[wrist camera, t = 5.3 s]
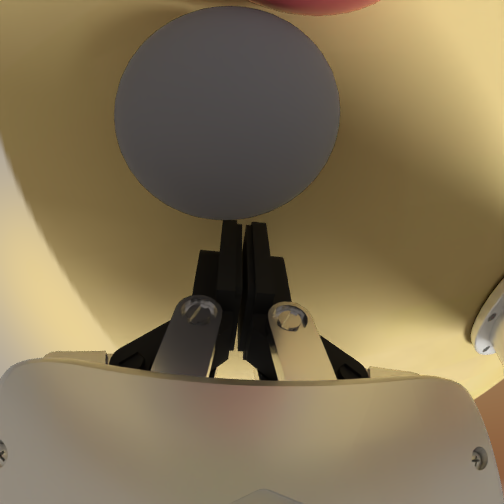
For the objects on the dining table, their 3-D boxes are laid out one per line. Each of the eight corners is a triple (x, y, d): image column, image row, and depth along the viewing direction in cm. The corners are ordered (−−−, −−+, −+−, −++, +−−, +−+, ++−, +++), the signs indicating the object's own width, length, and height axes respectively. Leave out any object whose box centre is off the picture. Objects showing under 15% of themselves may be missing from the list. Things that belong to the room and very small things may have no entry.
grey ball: (406, 207, 6) (362, 38, 7) (111, 94, 3) (192, -57, 4) (255, 252, 11) (257, 117, 12) (82, 225, 8) (123, 74, 9)
